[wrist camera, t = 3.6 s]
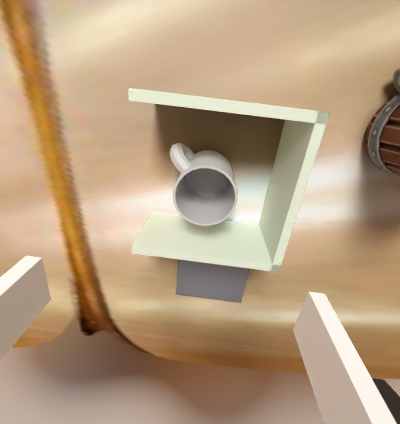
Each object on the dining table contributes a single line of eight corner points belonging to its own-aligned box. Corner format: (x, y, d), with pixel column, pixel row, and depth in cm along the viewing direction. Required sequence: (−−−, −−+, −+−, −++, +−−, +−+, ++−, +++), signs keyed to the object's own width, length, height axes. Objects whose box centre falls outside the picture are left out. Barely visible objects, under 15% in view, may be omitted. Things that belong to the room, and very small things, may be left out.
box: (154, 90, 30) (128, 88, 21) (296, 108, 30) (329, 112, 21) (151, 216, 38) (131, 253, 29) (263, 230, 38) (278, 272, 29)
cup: (204, 206, 37) (200, 236, 29) (159, 155, 34) (141, 173, 26) (242, 177, 34) (250, 202, 26) (198, 121, 32) (192, 129, 23)
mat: (182, 226, 38) (181, 228, 38) (256, 235, 38) (257, 238, 38) (176, 291, 45) (175, 294, 44) (240, 299, 44) (240, 302, 44)
